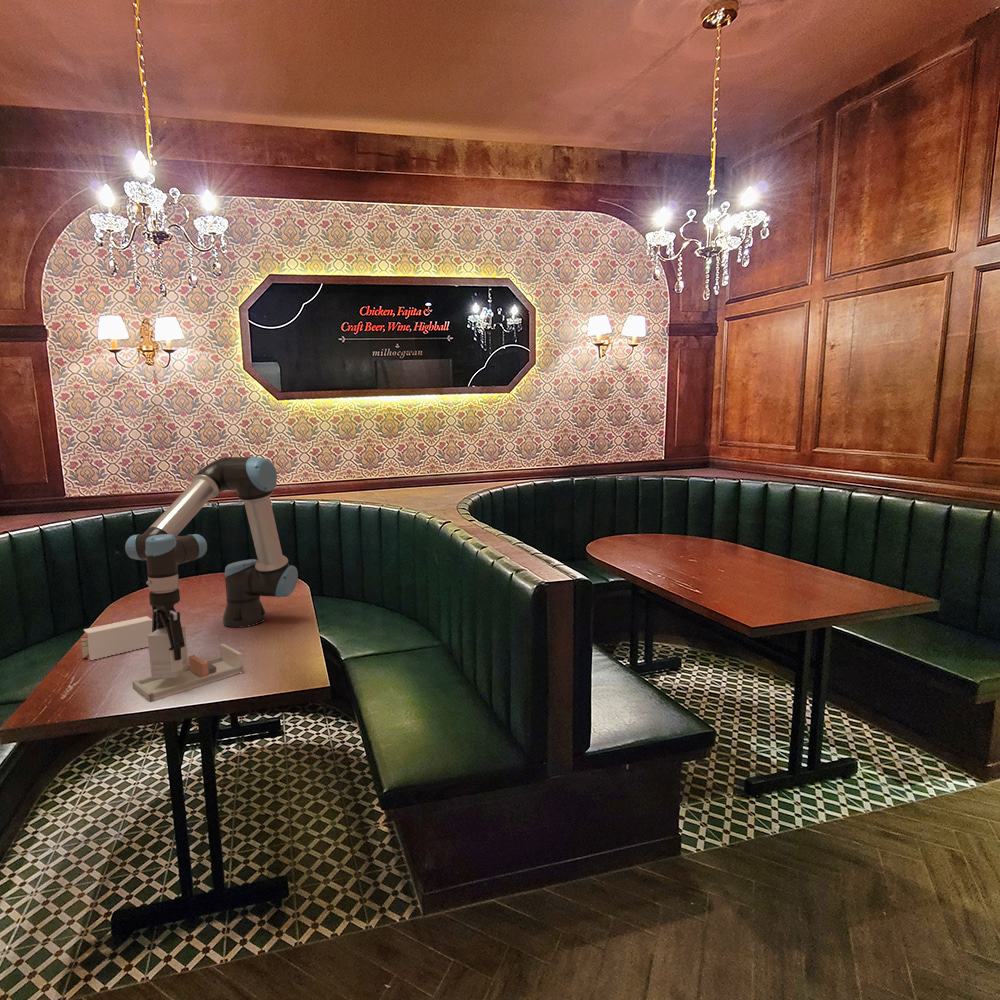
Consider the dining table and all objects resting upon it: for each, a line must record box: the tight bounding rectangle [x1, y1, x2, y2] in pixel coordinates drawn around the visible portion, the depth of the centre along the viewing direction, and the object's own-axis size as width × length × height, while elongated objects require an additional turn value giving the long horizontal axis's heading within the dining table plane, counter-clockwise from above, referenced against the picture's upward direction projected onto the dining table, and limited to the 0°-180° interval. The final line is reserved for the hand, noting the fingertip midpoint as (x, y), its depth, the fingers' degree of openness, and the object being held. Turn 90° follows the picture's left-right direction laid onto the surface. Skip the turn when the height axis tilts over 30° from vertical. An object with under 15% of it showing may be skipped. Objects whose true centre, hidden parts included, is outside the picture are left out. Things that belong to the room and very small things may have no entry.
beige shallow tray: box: [131, 643, 244, 703], centre depth 180 cm, size 26×13×6 cm, turn 138°
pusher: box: [188, 654, 216, 678], centre depth 183 cm, size 5×10×4 cm, turn 48°
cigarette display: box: [80, 615, 153, 661], centre depth 203 cm, size 20×6×9 cm, turn 136°
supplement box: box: [148, 626, 189, 678], centre depth 176 cm, size 7×7×13 cm
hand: (169, 665), depth 176 cm, fingers closed on supplement box, 10 cm apart
